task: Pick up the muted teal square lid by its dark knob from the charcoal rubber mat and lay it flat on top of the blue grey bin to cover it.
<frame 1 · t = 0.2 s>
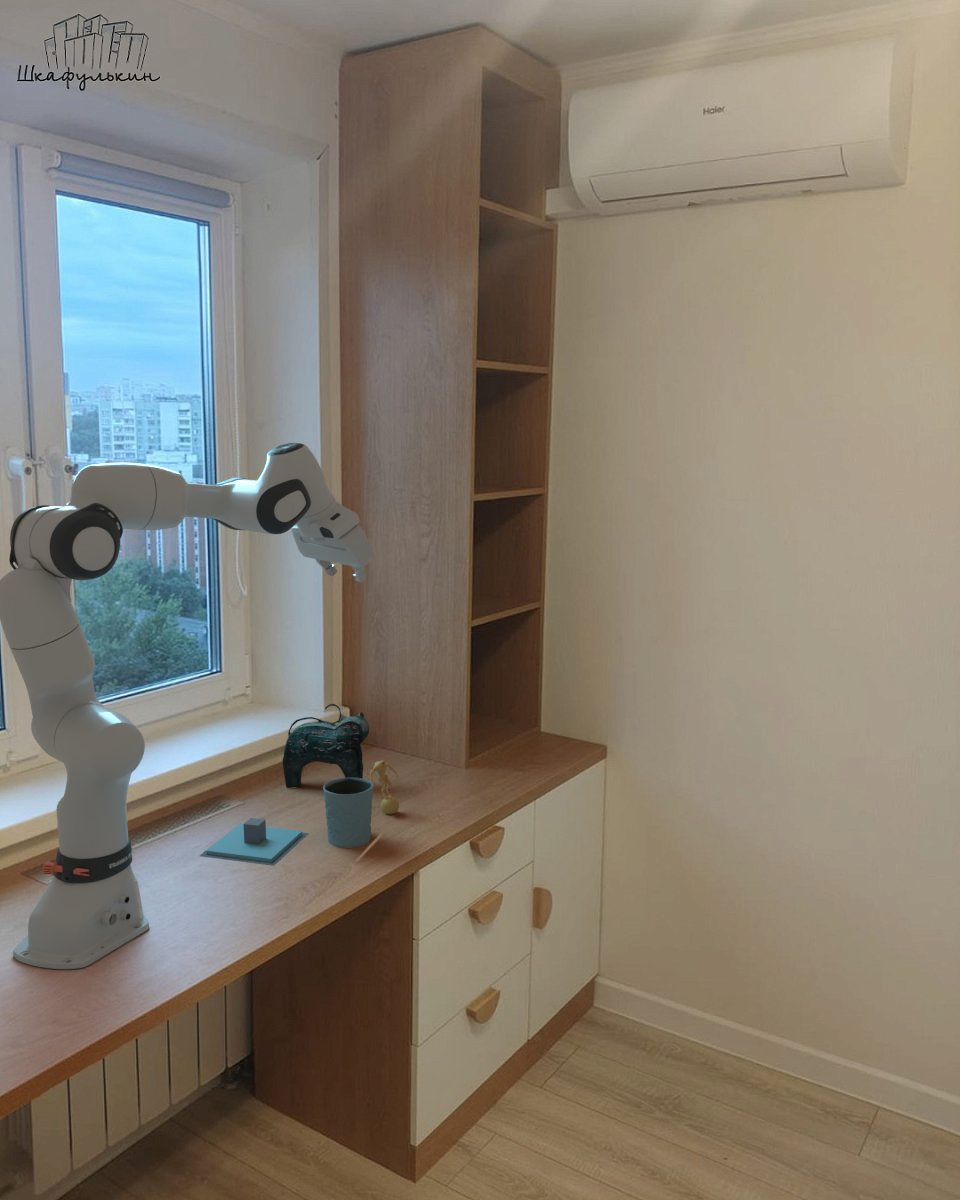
hand: (347, 577, 214), 54 cm above the table, tool tilted 30°, fingers open, 8 cm apart
figurine: (386, 814, 233), on the table
ceramic cat: (326, 788, 249), on the table
lid: (255, 844, 215), point 1 cm above the table, touching mat
mat: (255, 847, 216), on the table
blue grey bin: (349, 842, 219), on the table
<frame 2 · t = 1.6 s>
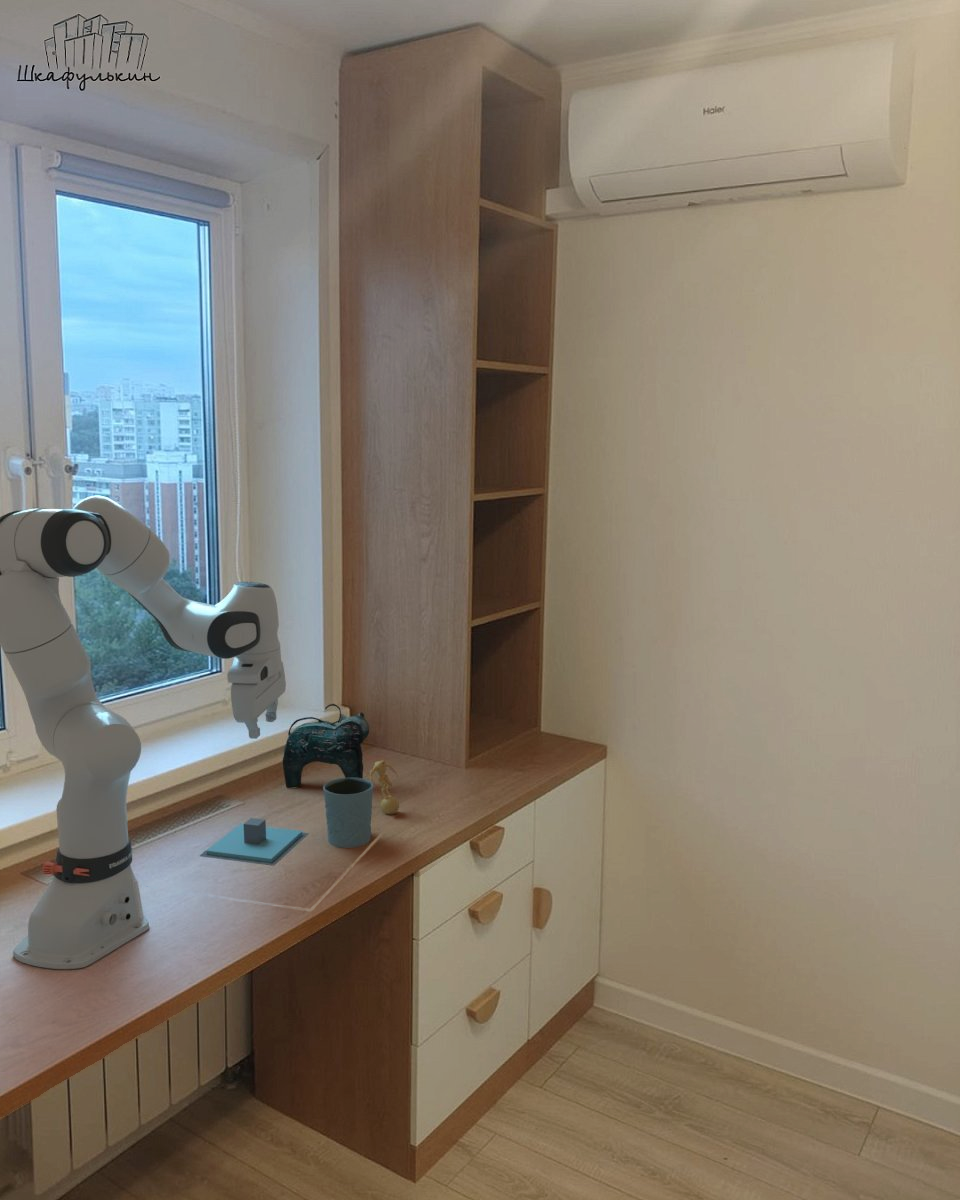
hand: (263, 728, 213), 24 cm above the table, tool pointing down, fingers open, 8 cm apart
nothing on the table moved.
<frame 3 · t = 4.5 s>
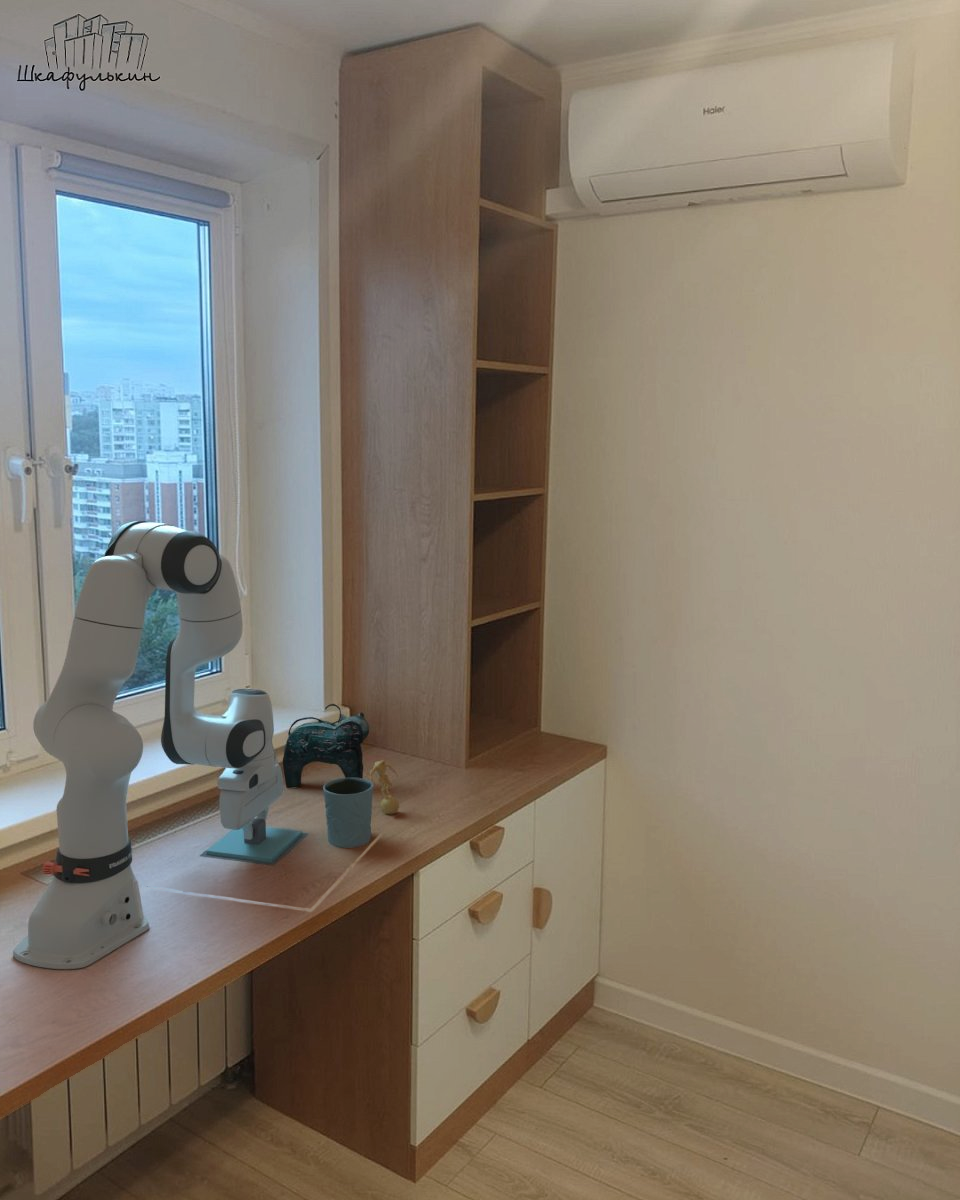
hand: (255, 833, 215), 3 cm above the table, tool pointing down, fingers closed on lid, 3 cm apart
lid: (255, 844, 215), point 1 cm above the table, touching gripper, mat
everything else where it was.
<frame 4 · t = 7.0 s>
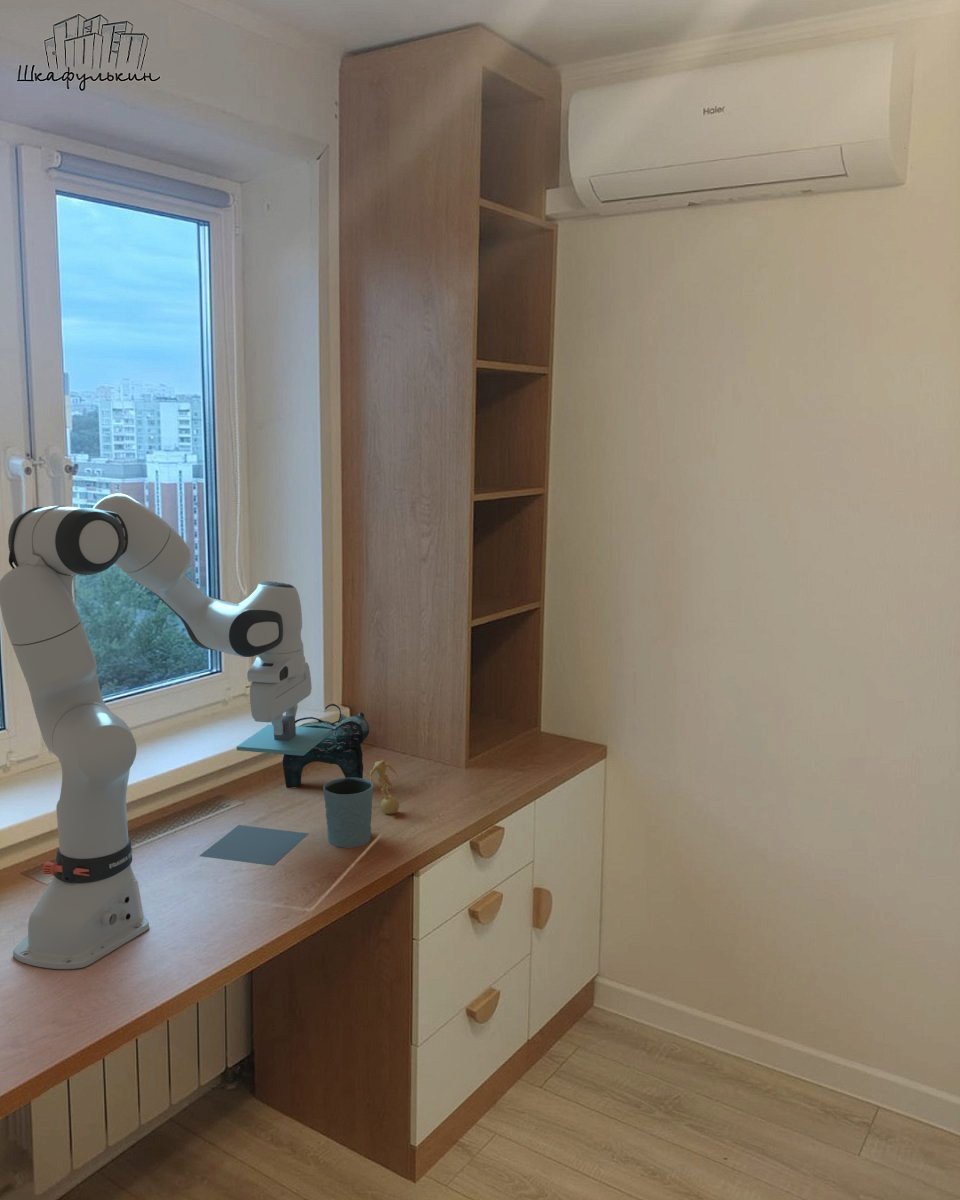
hand: (284, 730, 213), 24 cm above the table, tool pointing down, fingers closed on lid, 3 cm apart
lid: (285, 741, 213), point 22 cm above the table, touching gripper
everything else where it was.
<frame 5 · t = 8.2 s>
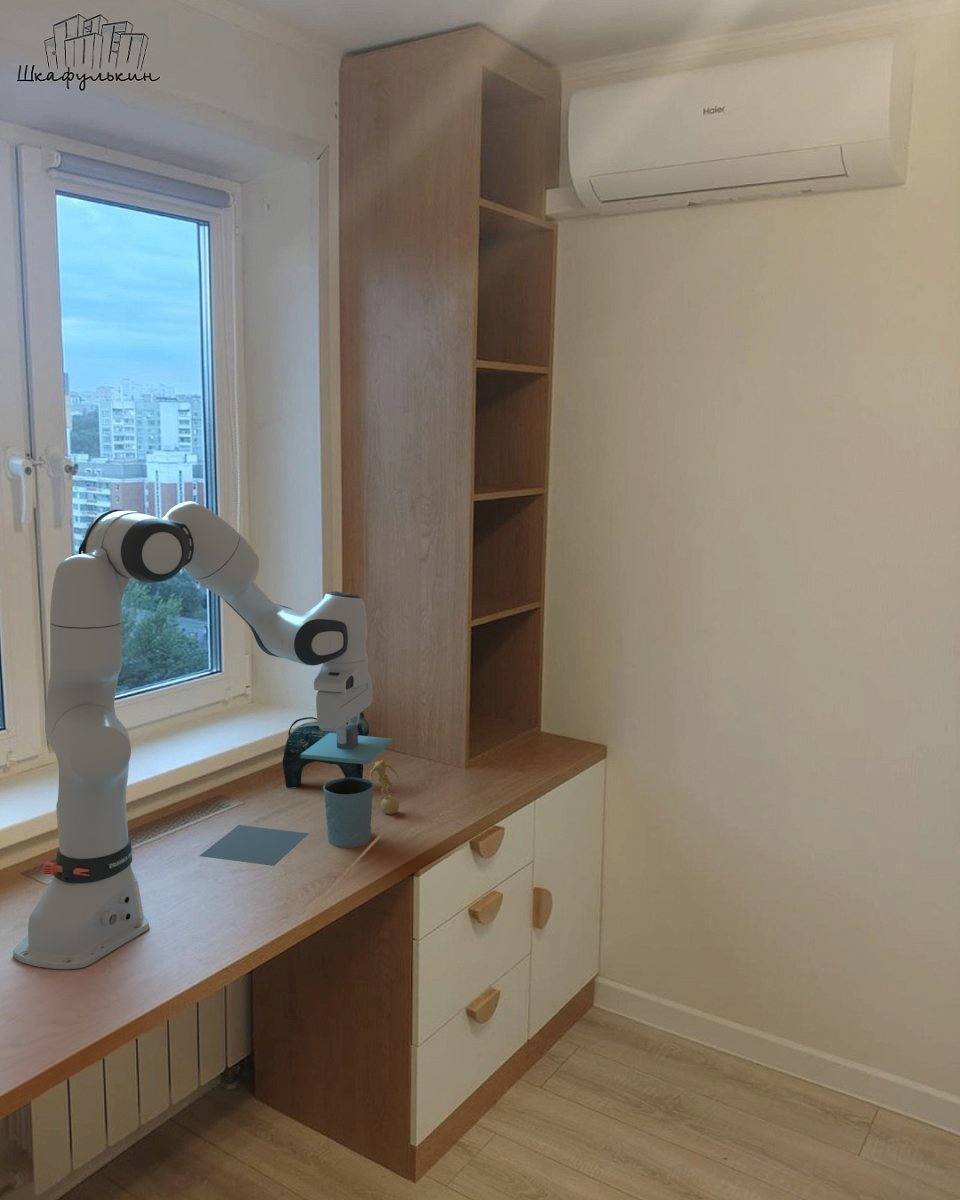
hand: (347, 739, 215), 22 cm above the table, tool pointing down, fingers closed on lid, 3 cm apart
lid: (347, 749, 215), point 19 cm above the table, touching gripper
everything else where it was.
when the fingers open (16 cm above the table, at t = 9.4 s): lid drops 1 cm, resting on blue grey bin.
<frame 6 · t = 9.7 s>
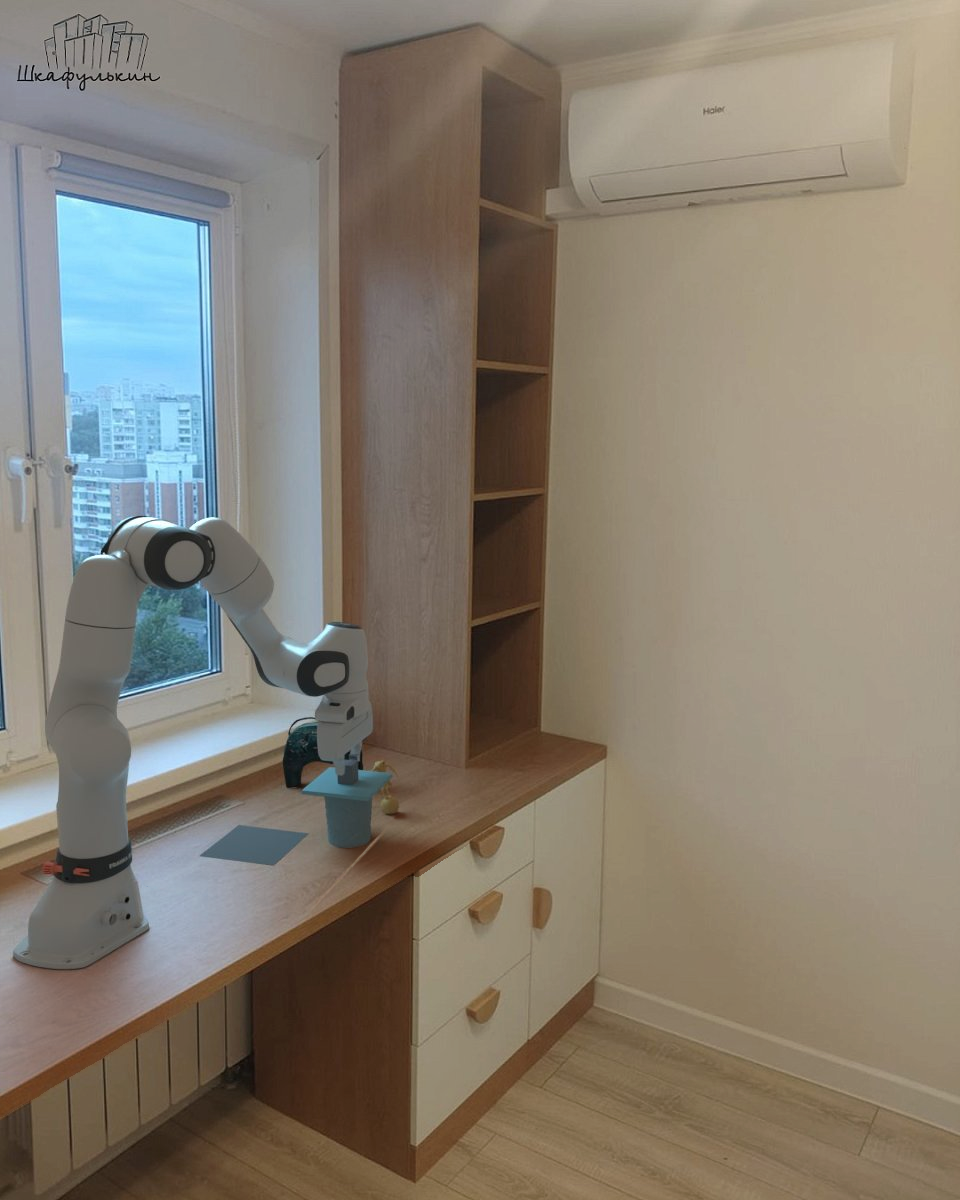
hand: (347, 768, 216), 16 cm above the table, tool pointing down, fingers open, 6 cm apart
lid: (348, 785, 216), point 12 cm above the table, touching blue grey bin
blue grey bin: (349, 842, 219), on the table, touching lid
everything else where it was.
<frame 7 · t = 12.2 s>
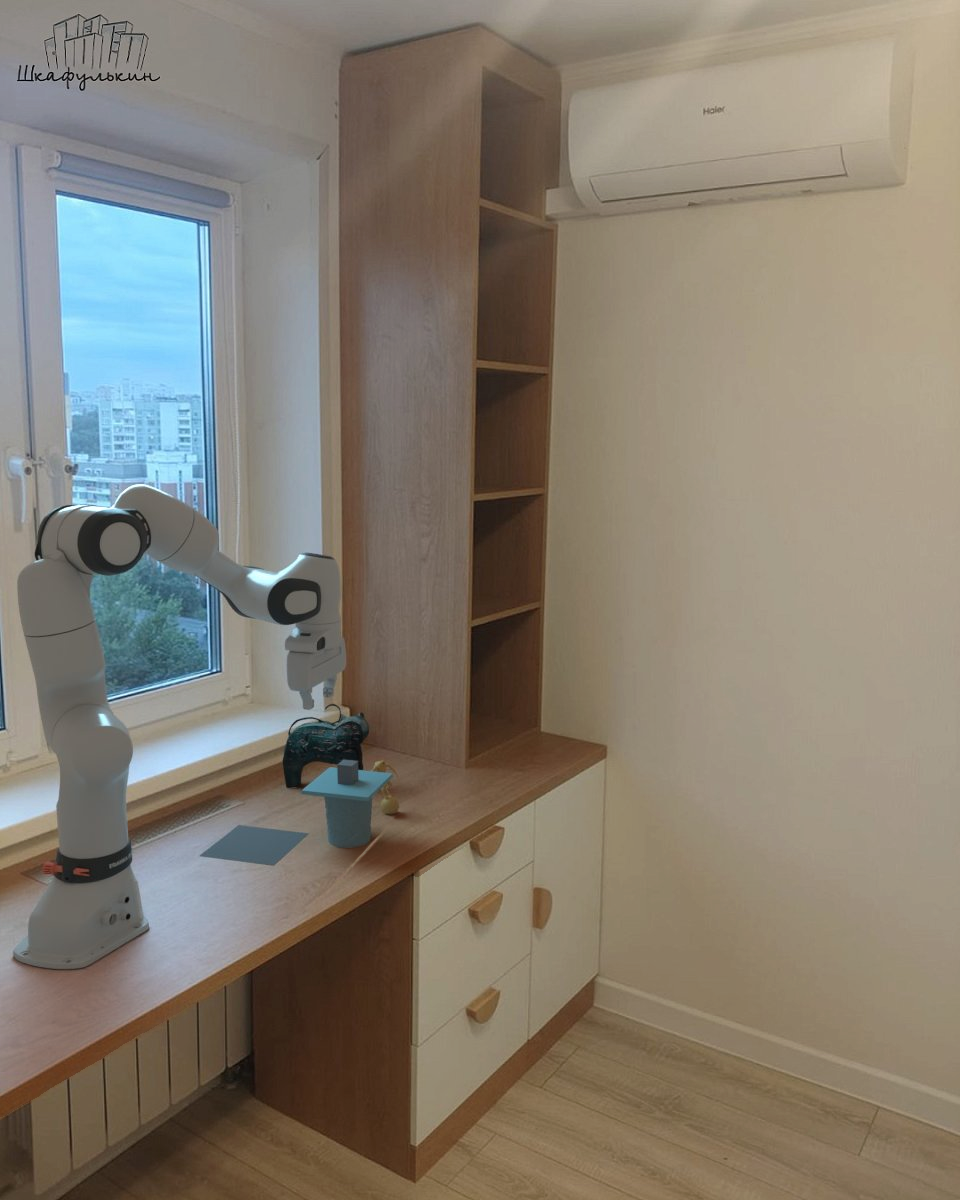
hand: (318, 702, 213), 29 cm above the table, tool pointing down, fingers open, 8 cm apart
nothing on the table moved.
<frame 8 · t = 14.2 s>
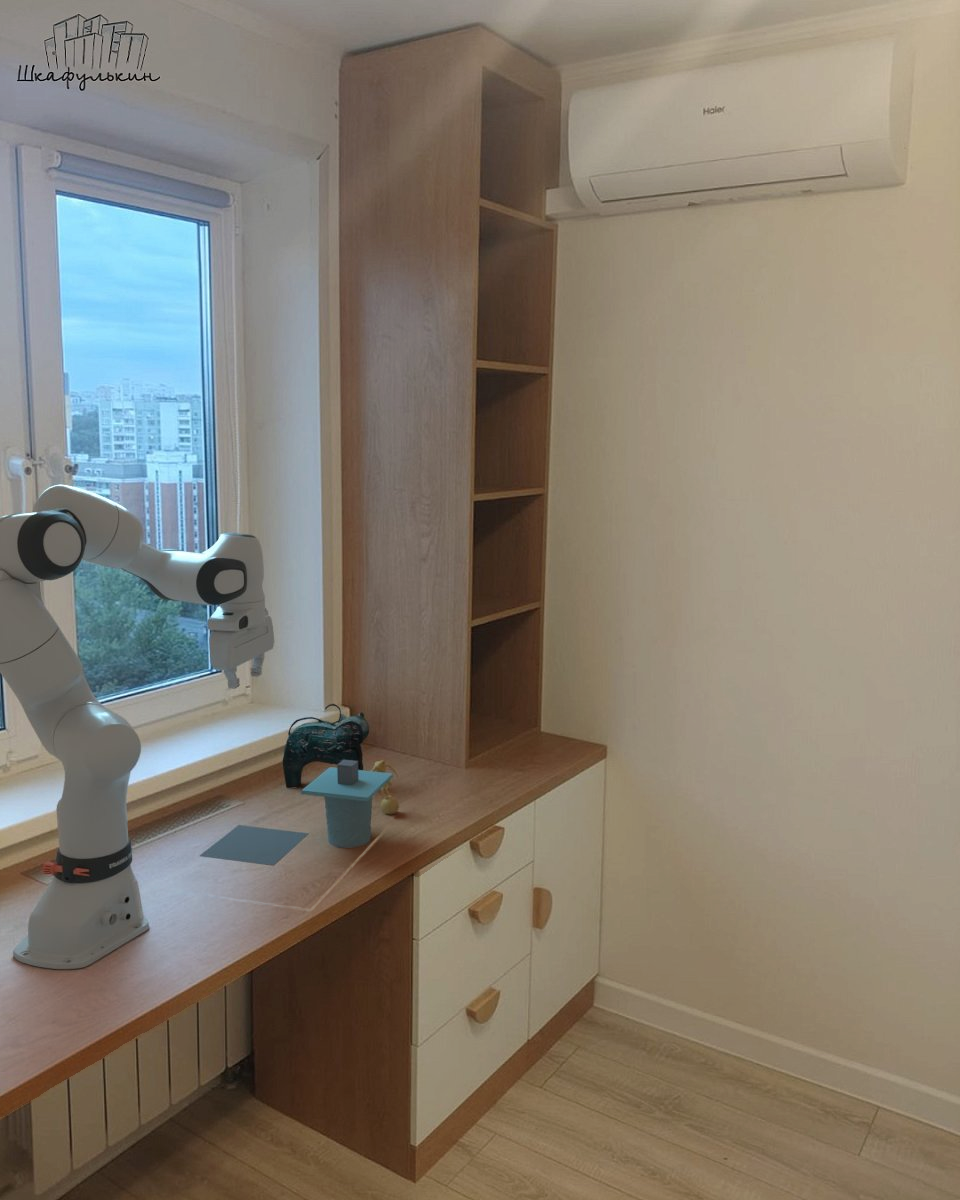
hand: (245, 681, 214), 33 cm above the table, tool pointing down, fingers open, 8 cm apart
nothing on the table moved.
at the end: lid 0.1 cm off-centre on the blue grey bin, point 12.2 cm above the blue grey bin's base; lid tilted 0°; blue grey bin tilted 0° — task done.
